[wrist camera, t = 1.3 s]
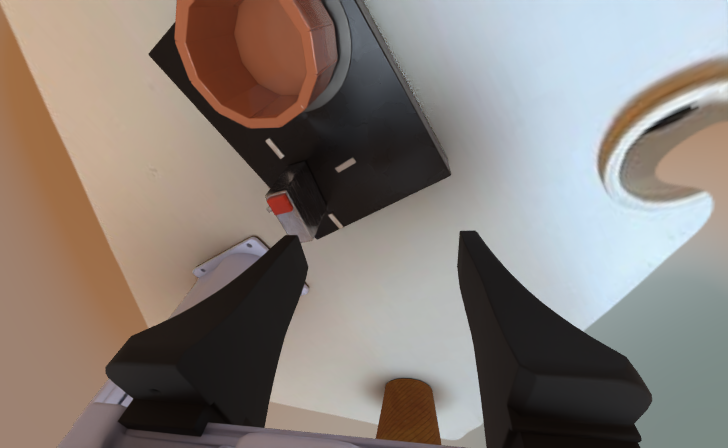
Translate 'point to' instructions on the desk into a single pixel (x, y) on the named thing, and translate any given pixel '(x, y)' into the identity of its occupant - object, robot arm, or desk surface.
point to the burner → (343, 52)
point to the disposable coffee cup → (408, 413)
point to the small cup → (257, 56)
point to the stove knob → (297, 202)
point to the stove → (339, 131)
